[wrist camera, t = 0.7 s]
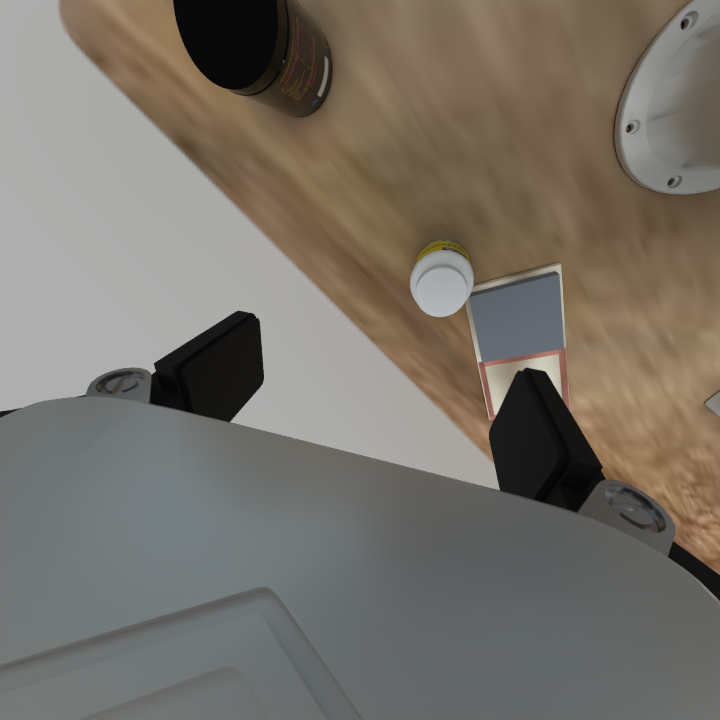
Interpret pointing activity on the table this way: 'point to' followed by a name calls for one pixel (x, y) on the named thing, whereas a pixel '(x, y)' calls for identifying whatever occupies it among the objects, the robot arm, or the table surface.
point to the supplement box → (714, 403)
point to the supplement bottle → (442, 278)
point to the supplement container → (258, 50)
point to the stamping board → (503, 371)
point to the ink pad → (519, 317)
